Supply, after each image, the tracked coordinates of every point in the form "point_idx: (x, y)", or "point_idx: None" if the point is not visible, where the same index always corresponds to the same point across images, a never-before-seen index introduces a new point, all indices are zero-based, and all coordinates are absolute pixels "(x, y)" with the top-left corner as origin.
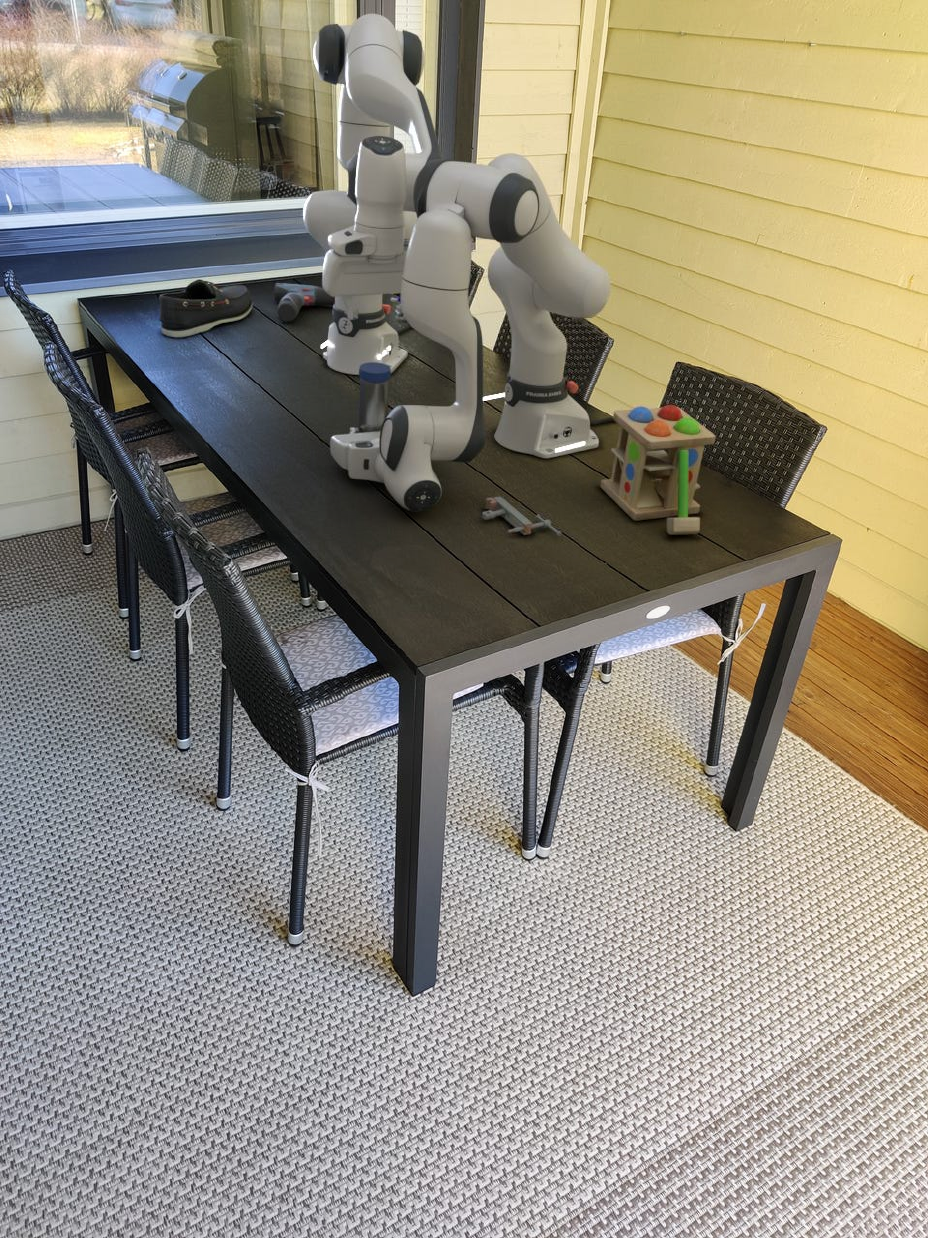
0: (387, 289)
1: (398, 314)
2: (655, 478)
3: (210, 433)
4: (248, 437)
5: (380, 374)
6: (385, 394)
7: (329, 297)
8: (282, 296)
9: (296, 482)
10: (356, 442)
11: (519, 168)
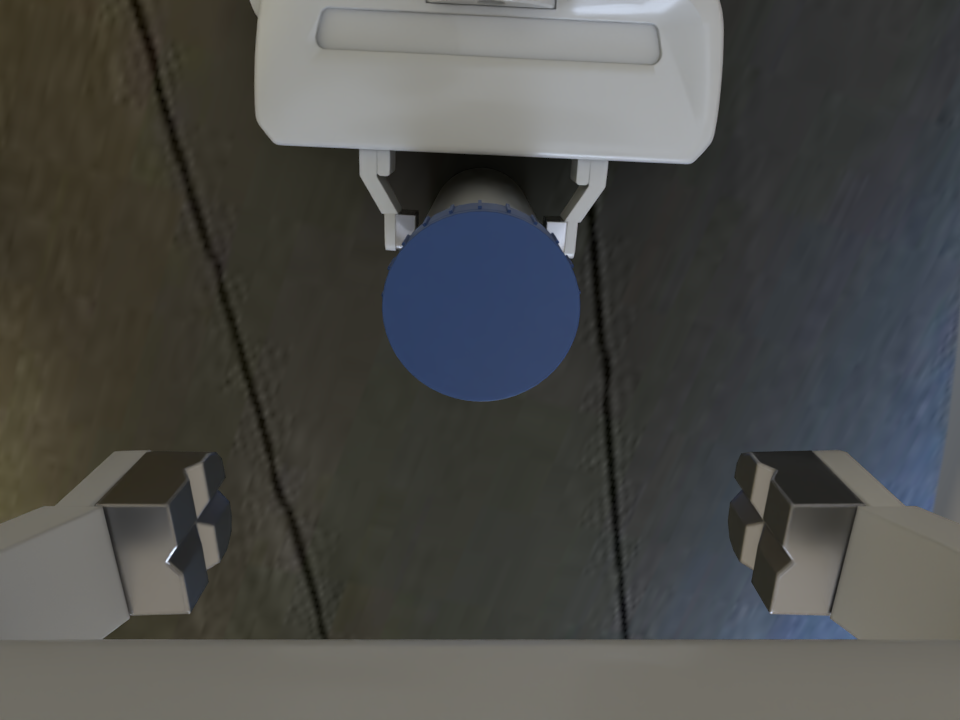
0: (305, 707)
1: (208, 466)
2: None
3: (909, 490)
4: (816, 440)
5: (482, 208)
6: (440, 210)
7: None
8: None
9: (828, 67)
10: (626, 62)
11: None
